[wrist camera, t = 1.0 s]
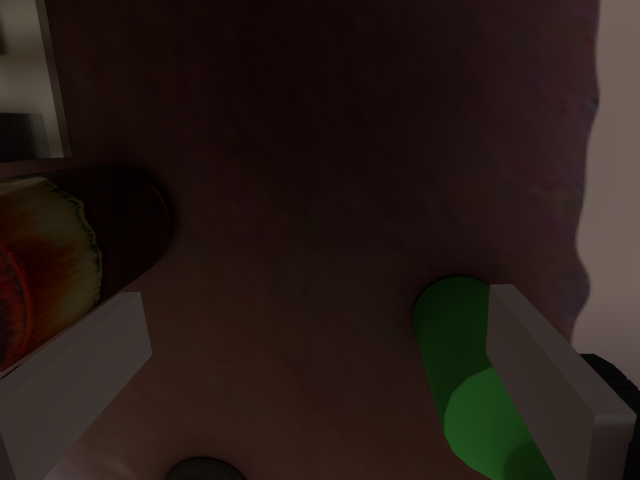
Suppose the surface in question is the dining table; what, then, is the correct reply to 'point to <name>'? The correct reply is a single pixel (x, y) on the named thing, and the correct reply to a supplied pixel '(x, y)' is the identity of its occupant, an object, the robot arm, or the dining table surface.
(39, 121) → the socket
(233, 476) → the lamp
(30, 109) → the plank
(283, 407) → the dining table surface
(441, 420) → the bottle
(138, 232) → the vase
